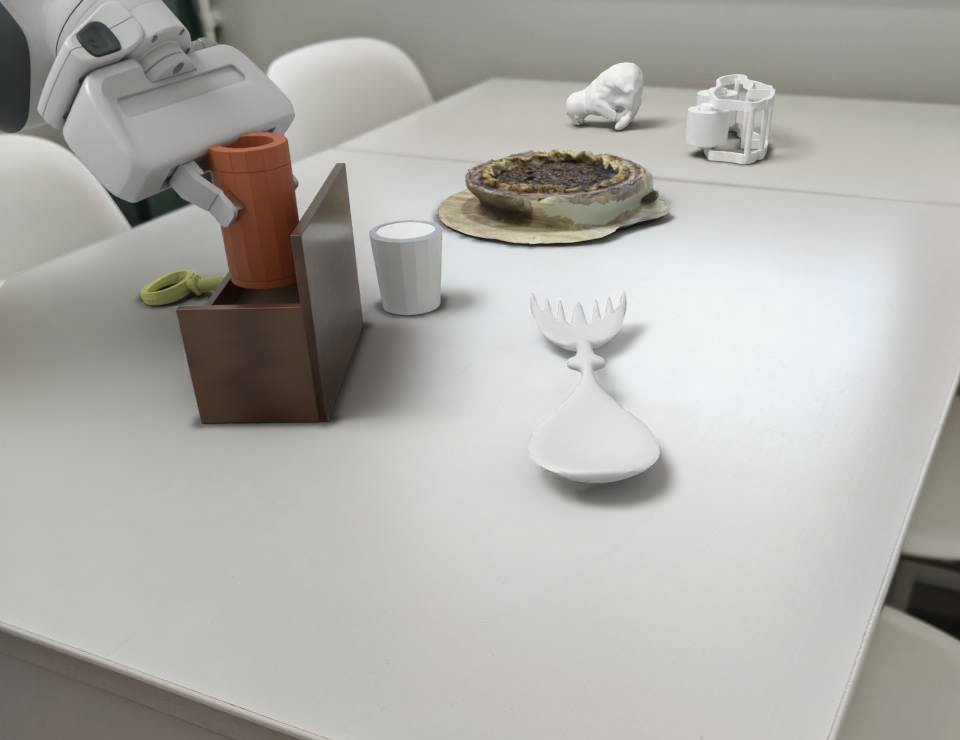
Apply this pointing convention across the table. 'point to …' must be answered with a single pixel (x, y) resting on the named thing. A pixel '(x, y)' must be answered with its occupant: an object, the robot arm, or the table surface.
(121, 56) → the robot arm
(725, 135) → the white strut cage
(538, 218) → the pie
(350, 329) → the box
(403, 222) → the white cup
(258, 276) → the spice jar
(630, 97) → the white animal figurine
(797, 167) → the table surface
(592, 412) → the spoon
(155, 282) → the key
